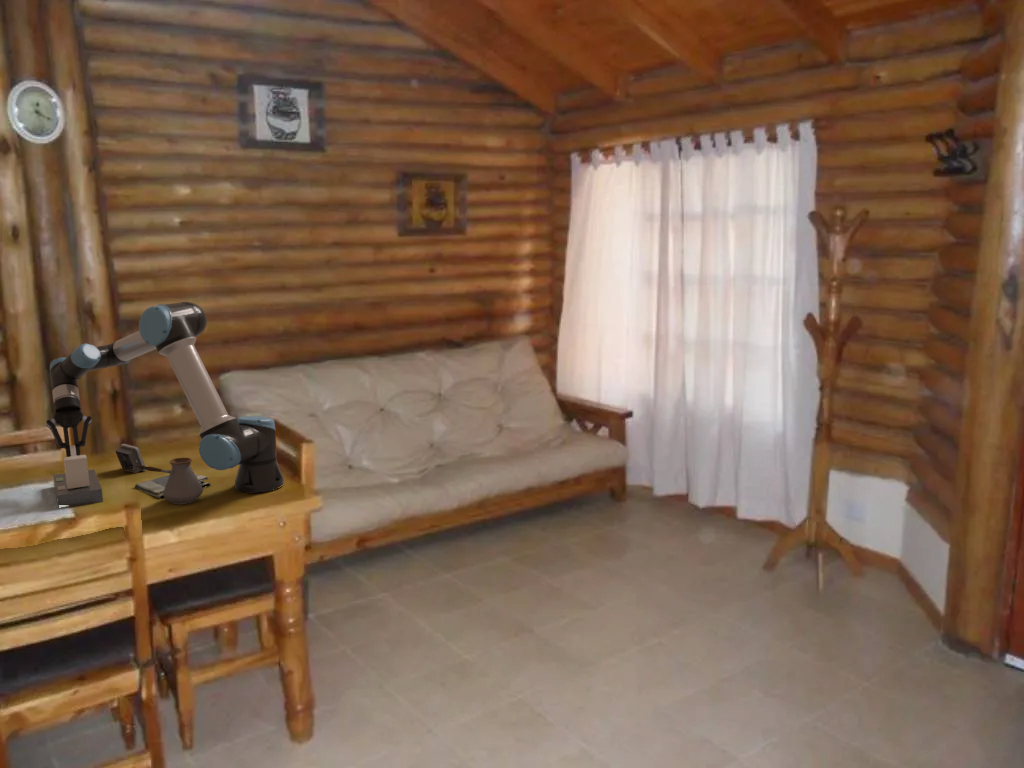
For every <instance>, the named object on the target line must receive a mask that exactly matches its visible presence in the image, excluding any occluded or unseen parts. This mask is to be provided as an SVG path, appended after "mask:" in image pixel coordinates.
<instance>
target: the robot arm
mask: <svg viewBox="0 0 1024 768" xmlns="http://www.w3.org/2000/svg"><path fill="white" fill-rule="evenodd" d="M139 318H140V320H139V322H138V331H136V332H133V333H131V334H129V335H126V336H124V337H122V338H120V339H117V340H116V341H113V342H111V343H109V344H105V345H99V346H95V345H93V344H89V343H82V344H80V345H79V346H77V347H76V348H75V349H73V350H72V352H71V353H70V354H69V355H68V356H66V357H58V358H56V359H53V360H52V361H51V362H50V364H49V377H50V384H51V385H50V386H51V393H52V401H53V410H54V415H53V418H52V419H47V420H46V427H47V428H48V429H49V430H50V431H51V434H52V435H53V437H54V440H55V443H56V445H57V447H58V448H59V449H60V450H61V449H64V450H65V454H66V456H65V457H71V456H79V455H81V449H80V448H81V447H85V446H86V441H87V436H88V430H89V426H90V425H91V424H92V416H91V415H90V416H86V415H84V413H83V411H82V407H81V399H80V391H79V384H78V383H79V382H78V381H79V380H80V379H81V378H83V376H84V375H86V374H87V373H88V372H93V371H97V370H101V369H102V370H103V369H106V368H111V367H119V366H123V365H126V364H128V363H130V361H131V360H132V359H135V358H137V357H141V356H142V355H144V354H147V353H150V352H152V351H155V350H157V352H158V354H159V355H160V356H161V355H162V356H165V357H166V358H167V360H168V363H169V364H170V366H171V368H172V370H173V373H174V374H175V377H176V378H177V380H178V382H179V385H180V387H181V388H182V389H181V390H182V391H183V393H184V394H185V397H186V399H187V401H188V402H189V404H190V407H191V409H192V411H193V413H194V415H195V417H196V419H197V422H198V423H199V425H200V426H201V427H200V431H199V433H198V435H199V436H200V439H201V440H200V441H199V445H198V446H199V448H198V452H199V455H200V456H199V457H200V458H201V459H202V461H203V462H204V463H205V465H207V466H208V467H210V468H211V469H214V470H217V471H226V470H228V469H229V470H230V469H233V468H235V467H237V466H238V470H237V473H236V477H235V480H234V487H235V490H236V491H237V490H238V491H237V492H239V491H240V493H243V492H247V493H246V494H258V493H257V492H263V493H266V492H265V491H269V492H271V491H270V490H273V489H276V488H278V487H280V486H281V485H283V483H284V476H283V474H282V472H281V469H280V466H279V464H278V457H277V456H278V455H277V439H276V437H277V436H276V431H277V429H276V426H275V425H276V424H275V420H274V419H273V418H271V417H268V416H259V415H257V416H256V415H253V416H252V415H251V416H250V415H249V416H239V417H235V416H232V415H230V414H229V413H228V411H227V409H226V407H225V405H224V403H223V401H222V399H221V397H220V395H219V393H218V391H217V389H216V387H215V385H214V382H213V381H212V379H211V377H210V375H209V373H208V371H207V368H206V367H205V364H204V363H203V361H202V358H201V357H200V354H199V353H198V351H197V348H196V346H195V344H196V341H197V337H199V336H200V335H202V333H204V331H205V330H206V328H207V325H208V317H207V315H206V312H205V311H204V309H203V308H202V307H201V306H200V305H198V304H196V303H194V302H190V301H180V302H174V303H173V302H172V303H166V304H165V303H164V304H163V303H161V304H160V303H159V304H156V305H154V306H153V305H152V306H149V307H147V308H146V309H145V310H144V311H143V312H142V314H141V315H140V317H139ZM81 422H82V423H83V426H82V432H81V433H82V434H81V439H80V440H79V433H78V432H79V431H78V426H79V425H80V423H81ZM56 424H57V425H58V426H59V427H62V429H63V437H64V439H62V438H61V435H60V434H59V431H58V429H57V426H56ZM69 428H72V429H71V431H72V434H73V444H74V445H71V444H70V443H71V442H70V436H69ZM63 440H64V442H63ZM284 484H285V483H284ZM283 486H284V485H283ZM276 490H277V489H276ZM273 491H274V490H273Z"/></svg>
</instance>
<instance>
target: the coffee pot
mask: <svg viewBox="0 0 1024 768" xmlns="http://www.w3.org/2000/svg"><path fill="white" fill-rule="evenodd" d="M192 461H193V459H192V458H191V457H176V458H172V459H171V460H169V464H170V465H171V467H172V468H171V470H170V469H169V470H168V469H162V468H158V467H153V466H146V465H145V466H146V467H145V466H135V467H136V468H138V470H139V469H140V468H141V469H142V470H144V469H145V470H146V471H149V472H157V473H165V474H168V475H169V478H168V481H167V484H166V486H165V489H164V492H163V496H164V497H165V498H164V499H166V500H167V501H168V502H170V503H171V504H173V505H187V503H188V504H191V503H194V502H196V501H197V500H198V498H200V497H201V496H202V494H203V491H204V488H202V486H201V484H200V482H199V481H198V479H197V477H196V475H195V474H196V473H195V472H194V469H192V467H191V463H192ZM135 467H134V468H135ZM134 468H133V469H132V470H133V471H134ZM137 473H139V472H138V471H137ZM137 473H136V472H135V473H134V474H137Z"/></svg>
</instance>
